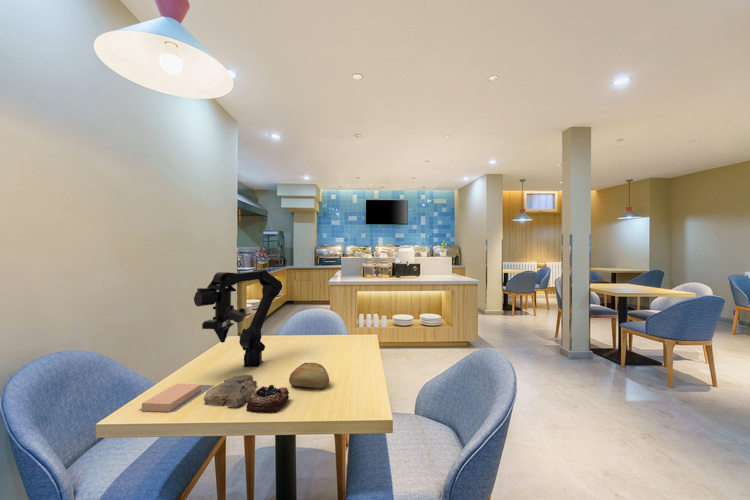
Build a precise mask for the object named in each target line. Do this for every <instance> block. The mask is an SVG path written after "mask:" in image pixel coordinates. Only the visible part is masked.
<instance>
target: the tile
mask: <svg viewBox="0 0 750 500" xmlns="http://www.w3.org/2000/svg"><path fill="white" fill-rule="evenodd" d="M201 385H202V384H201V383H199V384H198V383H175V384H173V385H171V386H170V387H167V388H166V389H164V390H163V391H161V392H159V393H158V394H155V395H154V396H152V397H150V398H148V399H147V400H145V401H143V402H141V408H142V411H143V412H164V413H165V412H168V413H170V411H172V410H173V409H175V408H176V407H178V406H179V405H181V404H182V403H184V402H185V401H187V400H188V399H190V398H191V397H193V396H194V395H196V394H197V393H199V392H200V391H201Z"/></svg>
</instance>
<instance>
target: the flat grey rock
mask: <svg viewBox="0 0 750 500" xmlns="http://www.w3.org/2000/svg"><path fill="white" fill-rule="evenodd" d="M257 384H258V381H256V380H254V377H253V375H251V374H244V375H242V374H241V375H237V376H232V377H229V378H226V379H224V381H223V382H222V383H220V384H218V385H214V386H213V387H211V388H210V389H208V390H207V391H206V392H205V395H204V396H203V401H204V404H205V405H207V406H215V407H223V406H225V407H228V408H233V409H236V408H239V407H241V405H243V404H245V403H246V404H247V400H248V399H249V396H250V395H252V394H253V393H254V391H256V388H257Z"/></svg>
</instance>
